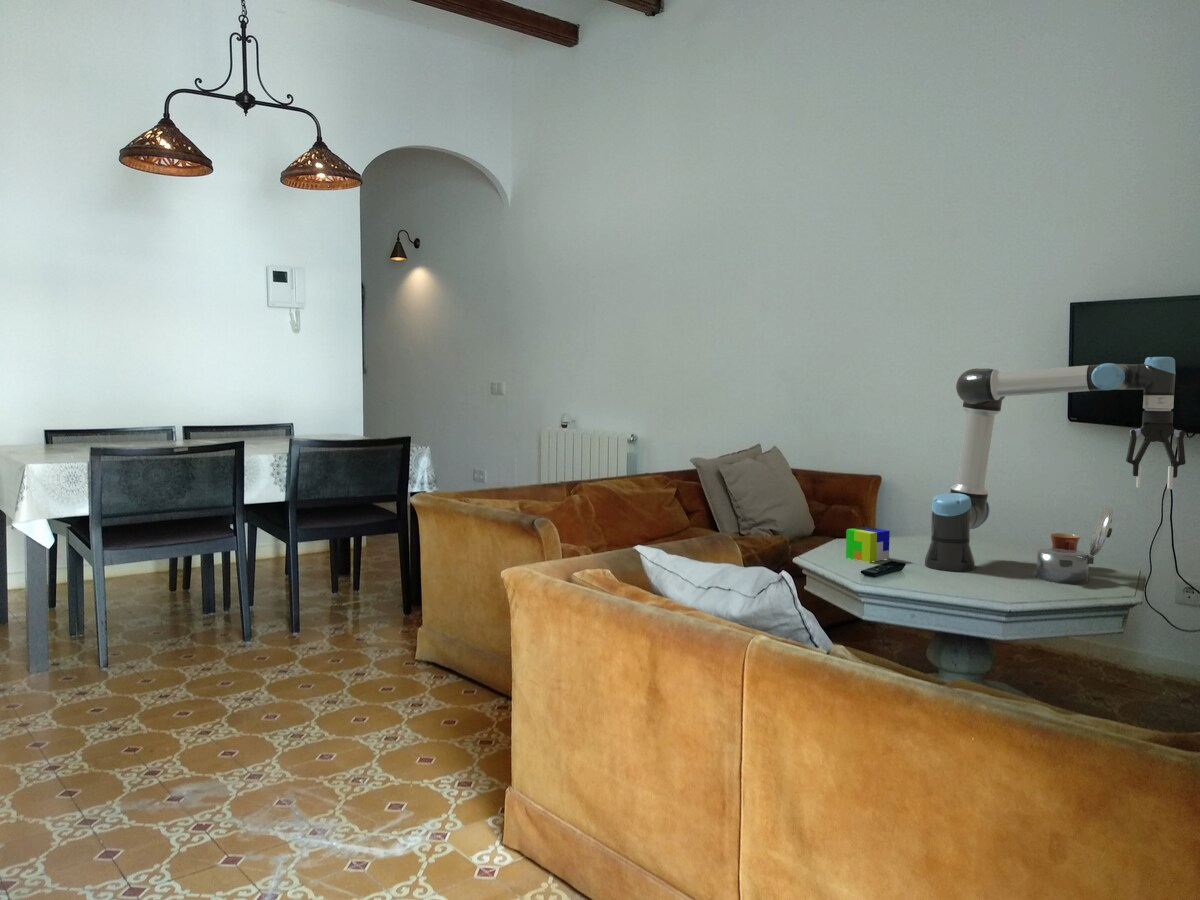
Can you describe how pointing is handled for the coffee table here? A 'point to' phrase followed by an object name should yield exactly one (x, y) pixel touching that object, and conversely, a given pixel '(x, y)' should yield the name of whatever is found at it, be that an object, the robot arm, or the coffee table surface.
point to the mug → (1064, 541)
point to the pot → (1063, 566)
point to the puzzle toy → (867, 544)
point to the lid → (1101, 530)
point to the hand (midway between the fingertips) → (1154, 487)
